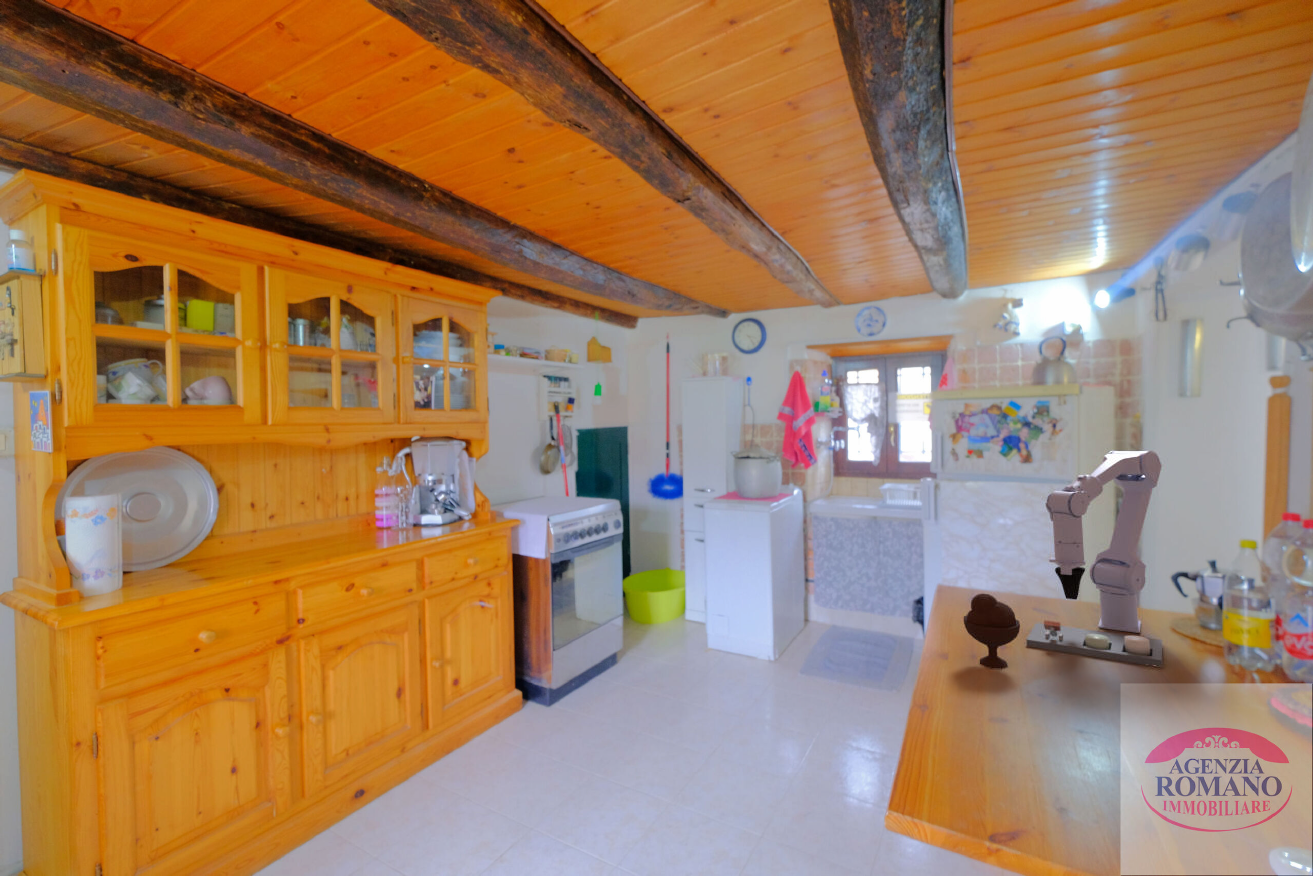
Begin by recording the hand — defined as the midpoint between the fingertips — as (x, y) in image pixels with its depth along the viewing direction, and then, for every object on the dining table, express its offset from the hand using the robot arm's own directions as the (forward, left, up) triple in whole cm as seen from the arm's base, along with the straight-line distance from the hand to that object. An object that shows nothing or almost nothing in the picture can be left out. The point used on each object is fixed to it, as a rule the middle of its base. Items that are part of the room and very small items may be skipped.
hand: (1071, 598), depth 141 cm
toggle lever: (+7, -3, -7) cm, 11 cm away
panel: (+4, +4, -9) cm, 11 cm away
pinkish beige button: (+7, +12, -8) cm, 16 cm away
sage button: (+7, +5, -9) cm, 12 cm away
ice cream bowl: (+26, -12, -10) cm, 30 cm away
